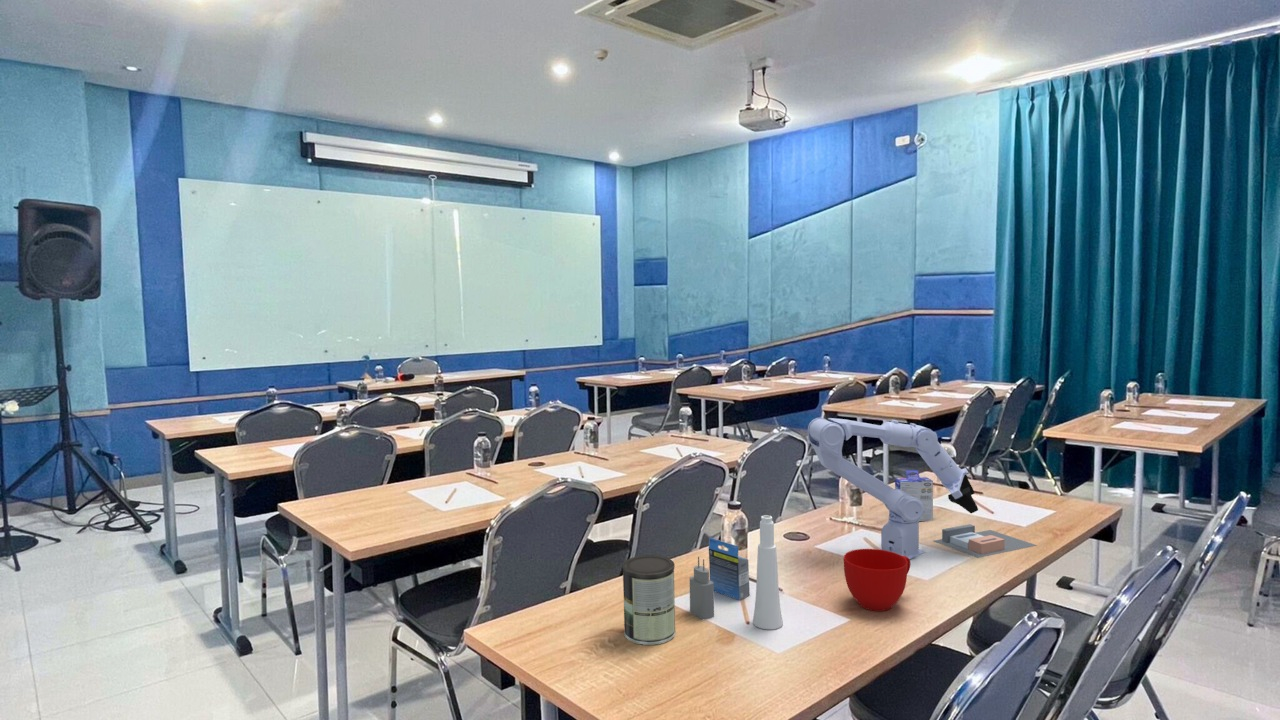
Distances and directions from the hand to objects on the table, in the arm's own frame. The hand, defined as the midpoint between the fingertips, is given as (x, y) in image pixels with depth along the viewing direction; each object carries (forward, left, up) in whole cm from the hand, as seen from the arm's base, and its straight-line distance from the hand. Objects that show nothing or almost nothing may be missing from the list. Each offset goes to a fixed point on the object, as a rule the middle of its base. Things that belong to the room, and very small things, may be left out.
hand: (972, 502), depth 182 cm
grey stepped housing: (+3, +3, -12) cm, 12 cm away
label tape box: (-68, +21, -12) cm, 72 cm away
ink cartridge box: (+12, +24, -12) cm, 30 cm away
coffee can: (-94, +17, -12) cm, 96 cm away
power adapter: (-80, +17, -12) cm, 83 cm away
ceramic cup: (-47, -4, -12) cm, 49 cm away
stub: (+1, -3, -12) cm, 12 cm away
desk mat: (+5, 0, -12) cm, 13 cm away
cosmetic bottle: (-73, +5, -12) cm, 74 cm away
